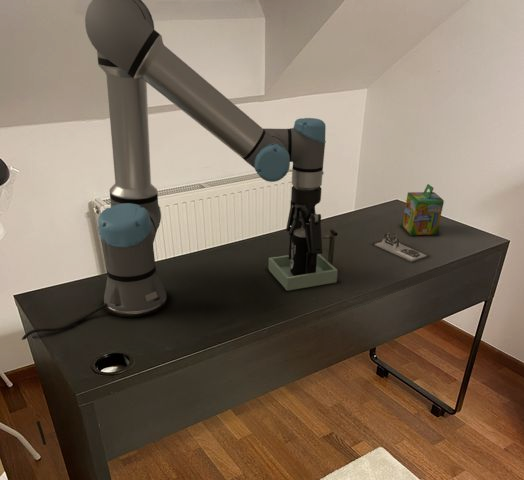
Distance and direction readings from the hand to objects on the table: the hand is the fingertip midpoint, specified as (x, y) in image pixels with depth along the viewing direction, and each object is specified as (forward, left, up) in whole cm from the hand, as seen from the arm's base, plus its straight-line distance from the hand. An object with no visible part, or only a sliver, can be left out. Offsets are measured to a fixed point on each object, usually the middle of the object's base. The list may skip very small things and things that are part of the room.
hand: (301, 266), depth 143 cm
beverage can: (0, 0, -2) cm, 2 cm away
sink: (0, 0, -3) cm, 3 cm away
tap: (+9, 0, -3) cm, 9 cm away
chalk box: (+51, +18, -3) cm, 54 cm away
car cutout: (+36, +6, -3) cm, 36 cm away
